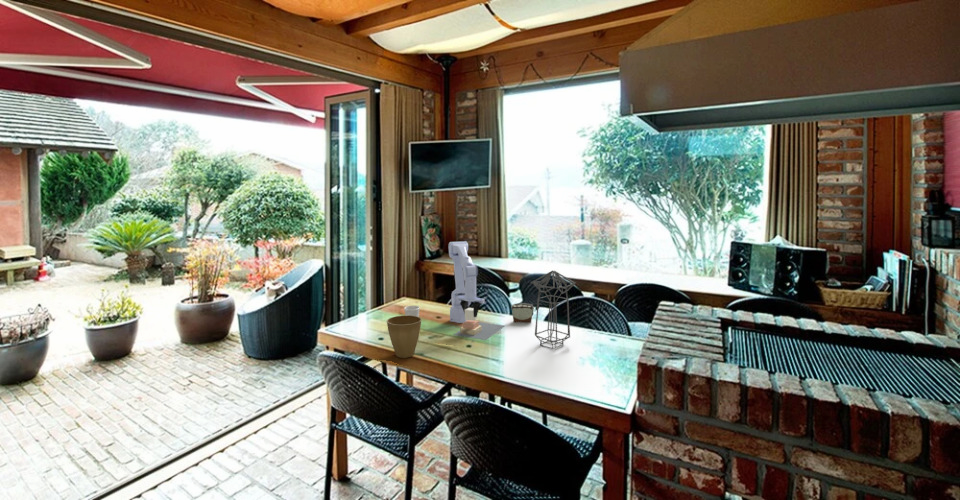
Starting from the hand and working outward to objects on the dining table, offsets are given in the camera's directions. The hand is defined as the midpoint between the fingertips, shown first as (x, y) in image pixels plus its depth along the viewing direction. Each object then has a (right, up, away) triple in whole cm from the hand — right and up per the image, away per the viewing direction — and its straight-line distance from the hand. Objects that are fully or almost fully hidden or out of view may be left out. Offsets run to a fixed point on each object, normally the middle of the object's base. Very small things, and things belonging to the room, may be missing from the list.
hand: (470, 315), depth 221 cm
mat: (+4, -9, +3) cm, 10 cm away
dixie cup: (-31, -8, +14) cm, 35 cm away
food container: (+28, -6, +19) cm, 34 cm away
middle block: (0, -6, +1) cm, 6 cm away
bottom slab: (0, -8, +1) cm, 8 cm away
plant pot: (-28, -13, -27) cm, 41 cm away
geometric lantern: (+38, -11, -17) cm, 43 cm away
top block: (0, -2, 0) cm, 2 cm away
